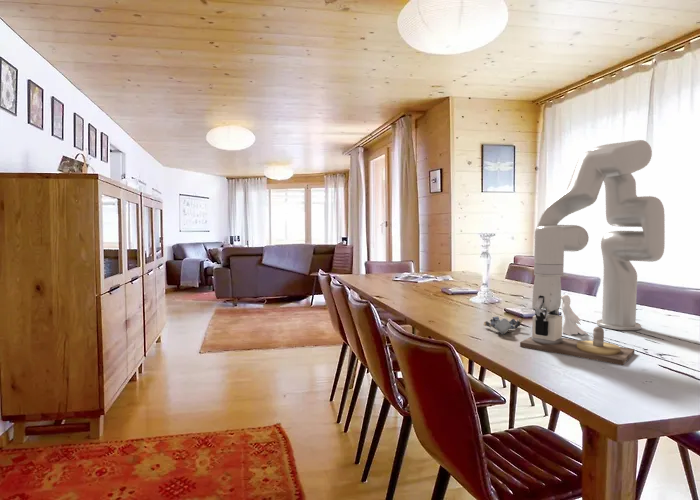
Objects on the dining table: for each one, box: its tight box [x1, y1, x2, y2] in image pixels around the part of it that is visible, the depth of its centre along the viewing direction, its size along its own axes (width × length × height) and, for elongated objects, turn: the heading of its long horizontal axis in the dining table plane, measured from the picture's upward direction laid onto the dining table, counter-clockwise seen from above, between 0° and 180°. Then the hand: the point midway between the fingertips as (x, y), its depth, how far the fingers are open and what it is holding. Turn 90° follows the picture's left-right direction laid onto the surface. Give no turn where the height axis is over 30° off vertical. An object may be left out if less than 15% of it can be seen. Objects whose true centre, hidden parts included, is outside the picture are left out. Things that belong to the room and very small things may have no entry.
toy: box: [483, 316, 523, 336], centre depth 143 cm, size 7×11×15 cm
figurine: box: [561, 294, 589, 336], centre depth 140 cm, size 8×8×12 cm
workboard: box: [519, 317, 635, 366], centre depth 122 cm, size 13×25×8 cm, turn 47°
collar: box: [531, 313, 563, 341], centre depth 127 cm, size 6×6×6 cm
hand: (547, 331), depth 127 cm, fingers open, 7 cm apart
